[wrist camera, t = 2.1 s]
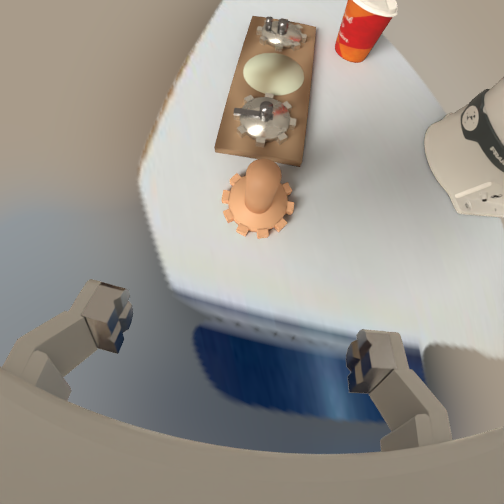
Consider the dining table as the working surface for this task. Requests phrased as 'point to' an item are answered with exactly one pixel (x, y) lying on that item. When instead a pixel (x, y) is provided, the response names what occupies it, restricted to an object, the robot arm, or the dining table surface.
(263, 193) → the idler gear
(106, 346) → the robot arm
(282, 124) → the gear
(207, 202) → the dining table surface
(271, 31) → the gear
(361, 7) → the paper cup
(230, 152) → the gear board
